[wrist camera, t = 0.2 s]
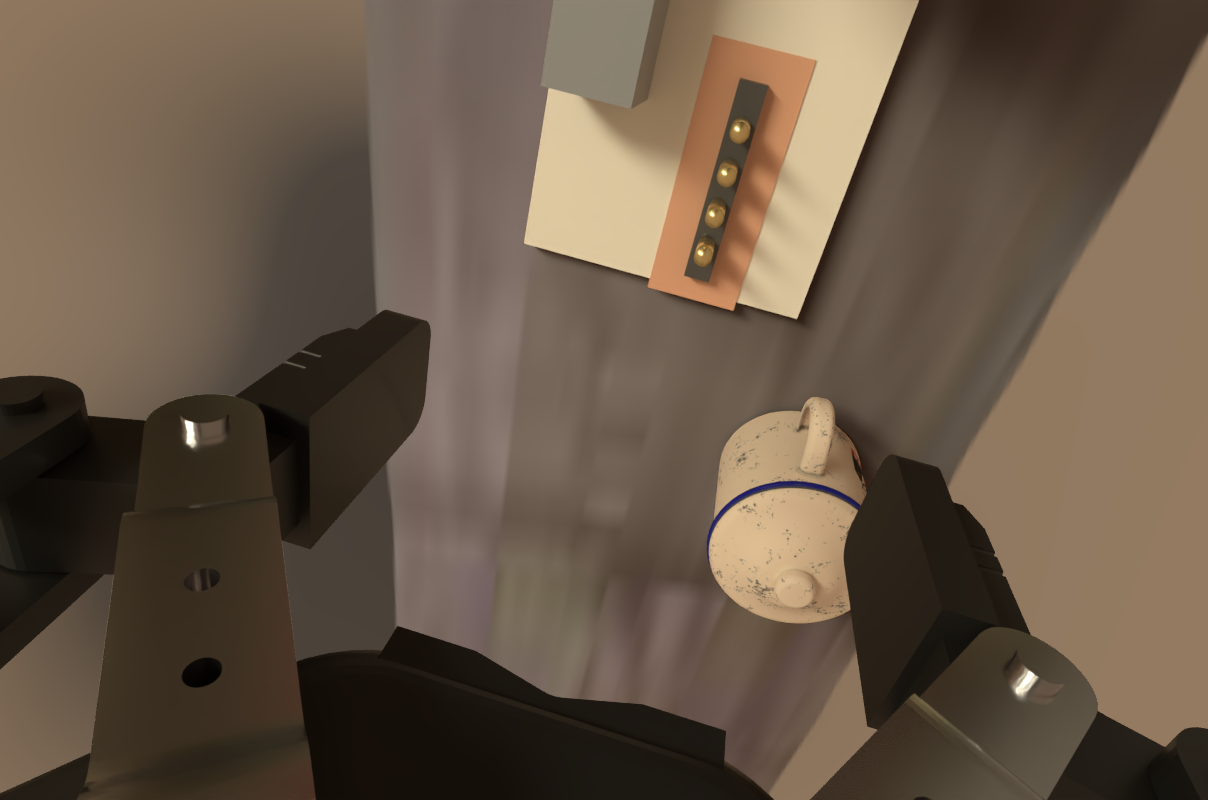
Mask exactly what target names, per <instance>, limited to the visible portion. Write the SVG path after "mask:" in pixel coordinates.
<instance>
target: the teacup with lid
mask: <svg viewBox="0 0 1208 800" xmlns="http://www.w3.org/2000/svg"><path fill="white" fill-rule="evenodd" d="M866 494H867V491H866V486H865V482H864V477H863V473H862V468H861V464H860V459H859V456H858V453H857V450H856V448H855V446H854V444H853V443H852V441H851V440H850V438H849V437H848V436H847V435H846V434H845V433H844V432H843V431H842V430H841V429H840V428H839V427H837V426H836V425H835V412H834V408H833V405H832V403H831V402H830V401H829V400H827V399H825V398H819V397H812V398H810V399H809V400H808V401H807V402H806V403H805V405H804V407H803V409H802V412H799V411H779V412H773V413H768V414H765V415H762V416H759V417H757V418H755V419H753V420H751V421H749V422H747V423H746V424H744V425H743V426H742V427H740V428H739V429H738V430H737V431H736V432H735V433H734V434H733V435H732V436H731V438H730V439H729V440H728V442H727V444H726V445H725V447H724V450H723V452H722V455H721V459H720V466H719V475H718V485H717V495H716V504H715V514H714V521H713V523H712V525H711V527H710V530H709V534H708V539H707V556H708V560H709V564H710V567H711V569H712V572H713V574H714V576H715V578H716V580H717V582H718V583H719V585H720V586H721V587H722V589H723V590H724V591H725V592H726V593H727V594H728V595H729V596H730V597H731V598H732V599H733V600H734V601H735V602H736V603H738V604H739V605H740V606H742V607H744V608H745V609H747V610H749V611H751V612H752V613H755V614H757V615H759V616H762V617H765V618H768V619H771V620H775V621H780V622H787V623H812V622H819V621H824V620H827V619H831V618H834V617H837V616H839V615H841V614H844V613H846V612H847V611H849V610H850V603H849V596H848V589H847V582H846V575H845V568H844V547H845V542H846V538H847V534H848V531H849V529H850V526H851V524H852V522H853V520H854V518H855V516H856V514H857V512H858V510H859V508H860V506H861V504H862V502H863V500H864V498H865V496H866Z"/></svg>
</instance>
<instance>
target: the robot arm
mask: <svg viewBox="0 0 1208 800" xmlns="http://www.w3.org/2000/svg"><path fill="white" fill-rule="evenodd" d="M430 337H431V330H430V325H429V323H428V322H427V321H425V320H421V319H418V318H414V317H411V316H407V315H403V314H400V313H396V312H393V311H389V310H383V311H382V312H380V313H379V314H378V315H376V316H375V317H374V318H372V319H371V320H370V321H368V322H367V323H366V324H364V325H363V326H361V327H360V328H359V329H357V330H355V329H351V328H347V329H344V330H340V331H337V332H333V333H330V334H327V335H323V336H321V337H319V338H318V339H316V340H315V341H314V342H312V343H311V344H309V345H308V346H306V347H305V348H304V349H302V352H301V353H300V352H298V353H296V354H295V355H293V356H292V357H291V358H289V359H288V360H287V361H286V364H283V363H282V364H281V365H279V366H278V367H276V368H275V369H273V370H272V371H271V372H269V373H268V374H266V375H265V376H263V377H262V378H261V379H259V380H258V381H256V382H255V383H253V384H252V385H250V386H249V387H248V388H246V389H245V390H243V391H242V392H240V393H239V394H238V395H236V396H229V395H223V394H202V395H193V396H188V397H184V398H179V399H176V400H173V401H170V402H168V403H166V404H164V405H162V406H160V407H158V408H157V409H156V410H154V411H153V412H152V413H151V414H150V415H149V416H148V417H147V419H146V420H145V421H144V420H132V419H120V418H108V417H96V416H88V414H87V409H86V404H85V398H84V395H83V392H82V390H81V389H80V388H79V387H78V386H76V385H75V384H73V383H71V382H69V381H66V380H63V379H59V378H54V377H46V376H17V377H8V378H2V379H0V669H1V668H2V667H3V666H4V665H6V664H7V663H8V662H9V661H10V660H11V659H12V658H13V657H14V656H15V655H16V654H18V653H19V652H20V651H21V650H22V649H23V648H24V647H25V646H26V645H27V644H28V643H30V642H31V641H32V640H33V639H34V638H35V637H36V636H37V635H38V634H40V632H42V631H43V630H44V629H45V628H46V627H47V626H48V625H49V624H50V623H52V622H53V621H54V620H55V619H56V618H57V617H58V616H59V615H60V614H61V613H63V612H64V611H65V610H66V609H67V608H68V607H69V606H70V605H71V604H72V603H73V602H75V601H76V600H77V599H78V598H79V597H80V596H81V595H82V594H83V593H84V592H86V590H88V589H89V588H90V587H91V586H92V585H93V584H94V583H95V582H97V581H98V580H99V579H100V578H101V577H102V576H103V575H104V574H113V575H114V576H113V585H112V592H111V599H110V607H109V615H108V622H107V630H106V638H105V645H104V653H103V661H102V669H101V676H100V684H99V692H98V699H97V707H96V714H95V722H94V730H93V737H92V745H91V753H89V754H87V755H85V756H82V757H80V758H78V759H76V760H73V761H71V762H69V763H67V764H64V765H62V766H60V767H58V768H56V769H53V770H51V771H49V772H47V773H45V774H42V775H40V776H38V777H36V778H33V779H31V780H29V781H27V782H24V783H22V784H20V785H18V786H16V787H13V788H11V789H9V790H7V791H4V792H2V793H0V800H774V799H773V798H772V797H771V796H770V795H769V794H767V793H766V792H765V791H764V790H763V789H762V788H761V787H760V786H759V785H757V784H756V783H755V782H754V781H753V780H751V779H750V778H749V777H747V776H746V775H745V774H743V773H742V772H741V771H739V770H738V769H737V768H735V767H734V766H732V765H730V764H729V763H727V762H725V761H724V754H725V737H726V731H724V730H721V729H718V728H715V727H712V726H709V725H705V724H702V723H699V722H696V721H693V720H690V719H687V718H684V717H680V716H677V715H674V714H671V713H668V712H665V711H662V710H659V709H655V708H652V707H649V706H646V705H643V704H631V703H619V702H607V701H595V700H583V699H571V698H560V697H555V696H552V695H549V694H547V693H545V692H543V691H542V690H540V689H538V688H537V687H535V686H533V685H532V684H530V683H528V682H527V681H525V680H523V679H522V678H520V677H518V676H517V675H515V674H513V673H512V672H510V671H508V670H507V669H505V668H503V667H502V666H500V665H498V664H497V663H495V662H493V661H492V660H490V659H488V658H487V657H485V656H483V655H482V654H480V653H478V652H477V651H474V650H471V649H468V648H465V647H462V646H458V645H455V644H452V643H449V642H446V641H443V640H440V639H437V638H433V637H430V636H427V635H424V634H421V633H418V632H415V631H412V630H408V629H405V628H402V627H399V626H397V628H396V629H395V631H394V633H393V634H392V636H391V637H390V639H389V641H388V643H387V644H386V646H385V647H384V649H383V650H382V651H380V650H350V651H342V652H334V653H328V654H323V655H318V656H314V657H310V658H306V659H303V660H300V661H297V662H296V654H295V646H294V638H293V630H292V621H291V613H290V605H289V596H288V588H287V580H286V572H285V564H284V556H283V547H282V540H283V541H286V542H289V543H293V544H296V545H299V546H302V547H305V548H308V549H311V548H312V547H313V546H314V545H315V543H316V542H317V541H318V540H319V539H320V538H321V536H322V535H323V534H324V533H325V532H326V531H327V530H328V528H329V527H330V526H331V525H332V524H333V523H334V522H335V520H336V519H337V518H338V517H339V516H340V515H341V514H342V512H343V511H344V510H345V509H346V507H348V506H349V504H350V503H351V502H352V501H353V500H354V499H355V497H356V496H357V495H358V494H359V493H360V492H361V491H362V489H363V488H364V487H365V486H366V485H367V484H368V483H369V481H370V480H371V479H372V478H373V477H374V476H375V474H376V473H377V472H378V471H379V470H380V469H381V468H382V466H383V465H384V464H385V463H386V462H387V461H388V460H389V458H390V457H391V456H392V455H393V454H394V453H395V452H396V450H397V449H398V448H399V447H400V446H401V445H402V444H403V442H404V441H405V440H406V439H407V438H408V437H409V436H410V434H411V433H412V432H413V431H414V429H415V427H416V426H417V424H418V421H419V419H420V417H421V414H422V411H423V407H424V402H425V394H426V383H427V371H428V360H429V349H430ZM994 553H995V551H994V549H993V547H992V545H991V542H990V540H989V538H988V535H987V533H986V531H985V529H984V528H983V527H982V525H981V524H980V523H979V522H978V521H977V520H976V519H975V518H974V517H973V516H972V514H971V513H970V512H969V511H968V510H967V509H966V508H965V507H964V506H963V505H960V504H957V503H953V501H952V499H951V496H950V494H949V491H948V489H947V486H946V483H945V481H944V478H943V476H942V473H941V471H940V469H939V468H938V467H935V466H932V465H928V464H925V463H921V462H918V461H914V460H911V459H907V458H903V457H900V456H896V455H889V456H888V457H887V458H886V459H885V460H884V461H883V463H882V464H881V466H880V468H879V470H878V472H877V474H876V476H875V478H874V480H873V482H872V484H871V486H870V488H869V490H868V492H867V494H866V496H865V498H864V500H863V502H862V504H861V506H860V508H859V510H858V512H857V514H856V516H855V518H854V520H853V522H852V524H851V526H850V529H849V531H848V534H847V538H846V542H845V547H844V568H845V575H846V582H847V589H848V596H849V603H850V610H851V616H852V623H853V630H854V637H855V644H856V651H857V658H858V665H859V672H860V678H861V686H862V693H863V700H864V707H865V714H866V721H867V726H868V727H871V728H874V729H877V731H876V732H875V733H874V734H873V735H872V736H871V737H870V739H869V740H868V741H867V742H866V743H865V744H864V745H863V746H862V747H861V748H860V749H859V750H858V751H857V752H856V753H855V754H854V755H853V756H852V757H851V758H850V759H849V760H848V761H847V762H846V763H845V764H844V765H843V766H842V767H841V768H840V769H839V770H838V771H837V773H836V774H835V775H834V776H833V777H832V778H831V779H830V780H829V781H828V782H827V783H826V784H825V785H824V786H823V787H822V788H821V789H820V790H819V791H818V792H817V793H816V794H815V795H814V796H813V797H812V798H811V799H810V800H1208V729H1205V728H1198V727H1197V728H1196V727H1195V728H1187V729H1184V730H1183V731H1181V732H1180V733H1179V734H1178V735H1177V736H1176V737H1175V738H1174V739H1173V740H1172V741H1171V742H1170V743H1169V744H1168V745H1167V746H1166V747H1164V746H1161V745H1160V744H1158V743H1156V742H1154V741H1152V740H1150V739H1148V738H1147V737H1145V736H1143V735H1141V734H1139V733H1137V732H1135V731H1133V730H1132V729H1130V728H1128V727H1126V726H1124V725H1122V724H1120V723H1118V722H1116V721H1115V720H1113V719H1111V718H1109V717H1107V716H1105V715H1104V714H1102V713H1100V712H1099V711H1098V703H1097V699H1096V696H1095V694H1094V691H1093V689H1092V687H1091V686H1090V684H1089V682H1088V681H1087V679H1086V678H1085V677H1084V676H1083V674H1082V673H1081V672H1080V671H1079V670H1078V669H1077V668H1076V666H1075V665H1074V664H1073V663H1071V662H1070V661H1069V660H1068V659H1067V658H1066V657H1065V656H1064V655H1062V654H1061V653H1059V652H1058V651H1057V650H1056V649H1054V648H1052V647H1051V646H1050V645H1048V644H1047V643H1045V642H1043V641H1041V640H1040V639H1038V638H1036V637H1034V636H1032V635H1030V632H1029V630H1028V628H1027V625H1026V623H1025V621H1024V618H1023V616H1022V614H1021V611H1020V609H1019V607H1018V604H1017V602H1016V600H1015V598H1014V595H1013V593H1012V591H1011V589H1010V586H1009V584H1008V581H1007V579H1006V577H1004V576H1002V574H1003V570H1002V568H1001V565H1000V563H999V561H998V558H997V557H995V556H994Z"/></svg>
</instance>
